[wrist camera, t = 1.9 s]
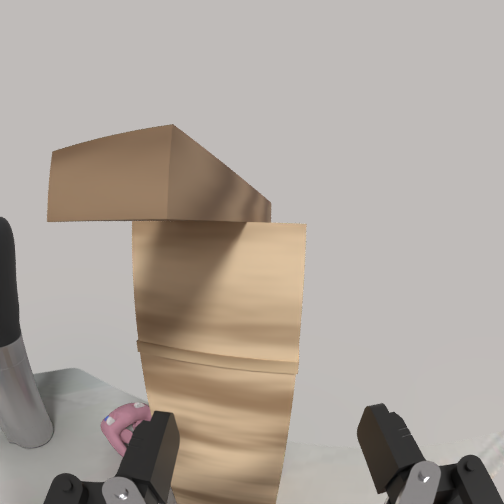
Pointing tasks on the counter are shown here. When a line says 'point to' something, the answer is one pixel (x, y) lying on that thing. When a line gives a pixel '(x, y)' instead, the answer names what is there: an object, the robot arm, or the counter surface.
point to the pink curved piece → (124, 424)
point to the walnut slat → (148, 181)
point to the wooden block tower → (221, 348)
